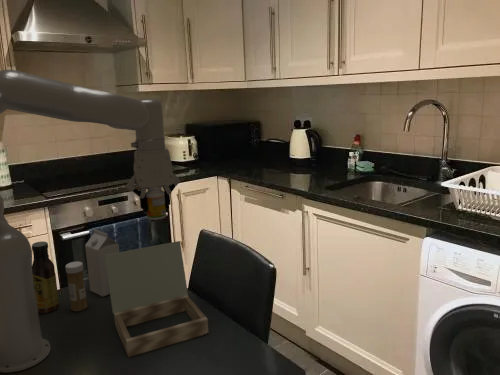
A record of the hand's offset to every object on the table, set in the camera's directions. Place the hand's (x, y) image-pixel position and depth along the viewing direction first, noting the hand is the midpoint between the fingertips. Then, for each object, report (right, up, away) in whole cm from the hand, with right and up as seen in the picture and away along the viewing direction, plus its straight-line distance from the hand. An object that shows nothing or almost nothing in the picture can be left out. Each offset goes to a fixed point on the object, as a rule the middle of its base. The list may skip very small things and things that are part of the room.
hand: (155, 208), depth 123 cm
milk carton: (-18, -26, +13) cm, 34 cm away
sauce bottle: (-31, -29, +2) cm, 43 cm away
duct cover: (-1, -18, -5) cm, 19 cm away
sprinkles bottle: (-22, -29, +2) cm, 36 cm away
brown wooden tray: (+4, -31, -11) cm, 33 cm away
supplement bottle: (0, -3, +1) cm, 3 cm away
